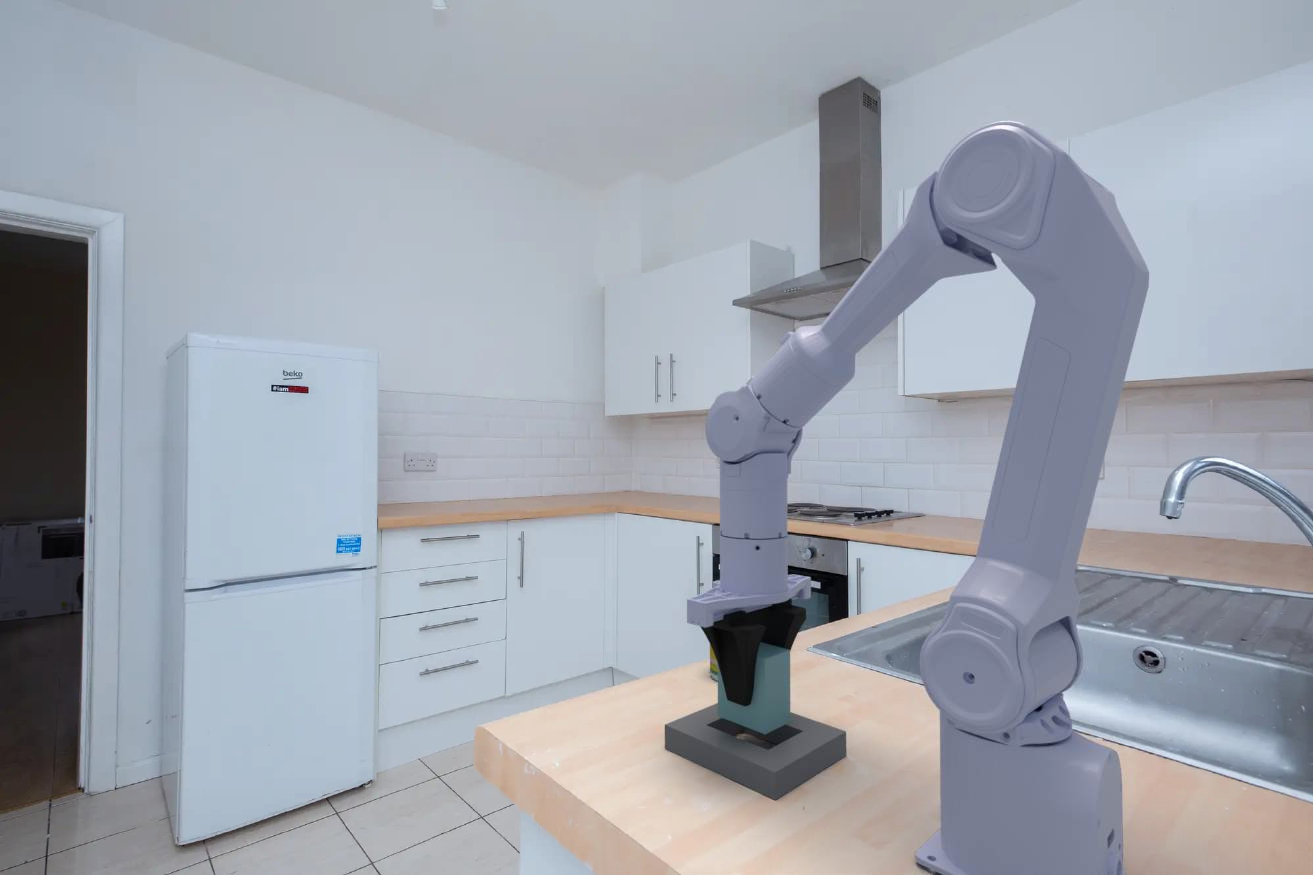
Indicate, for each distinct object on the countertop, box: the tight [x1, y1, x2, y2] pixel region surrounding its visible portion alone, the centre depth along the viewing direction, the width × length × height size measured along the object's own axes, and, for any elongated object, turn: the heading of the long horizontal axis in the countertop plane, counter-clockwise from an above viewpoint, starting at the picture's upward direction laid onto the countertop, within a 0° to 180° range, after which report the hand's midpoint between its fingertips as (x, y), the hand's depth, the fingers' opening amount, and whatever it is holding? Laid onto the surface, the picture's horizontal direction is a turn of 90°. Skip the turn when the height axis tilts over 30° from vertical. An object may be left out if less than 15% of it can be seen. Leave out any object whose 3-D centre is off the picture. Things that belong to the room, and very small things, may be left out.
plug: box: [717, 642, 791, 734], centre depth 55 cm, size 5×4×6 cm
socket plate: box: [664, 702, 847, 801], centre depth 55 cm, size 12×10×2 cm
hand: (753, 695), depth 55 cm, fingers closed on plug, 3 cm apart
